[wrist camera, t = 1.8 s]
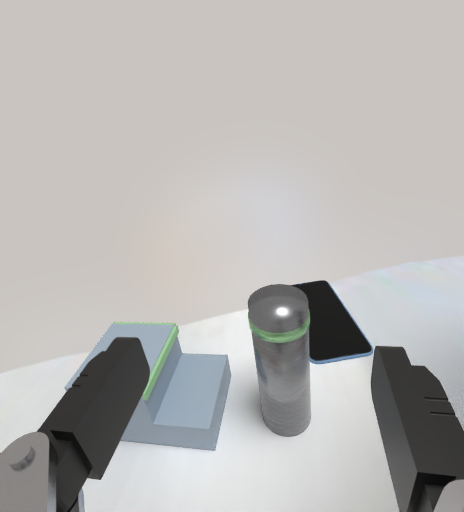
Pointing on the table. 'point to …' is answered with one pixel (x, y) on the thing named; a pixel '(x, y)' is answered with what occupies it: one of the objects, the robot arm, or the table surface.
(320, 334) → the smartphone
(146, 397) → the blue-grey stepped block
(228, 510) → the table surface
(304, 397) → the steel thermos flask
